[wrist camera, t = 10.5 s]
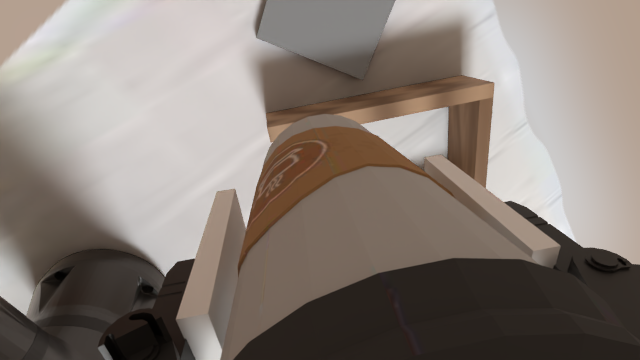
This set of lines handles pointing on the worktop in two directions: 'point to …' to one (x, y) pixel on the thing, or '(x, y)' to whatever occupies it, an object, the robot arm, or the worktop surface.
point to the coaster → (327, 30)
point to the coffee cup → (394, 267)
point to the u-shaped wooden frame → (456, 92)
